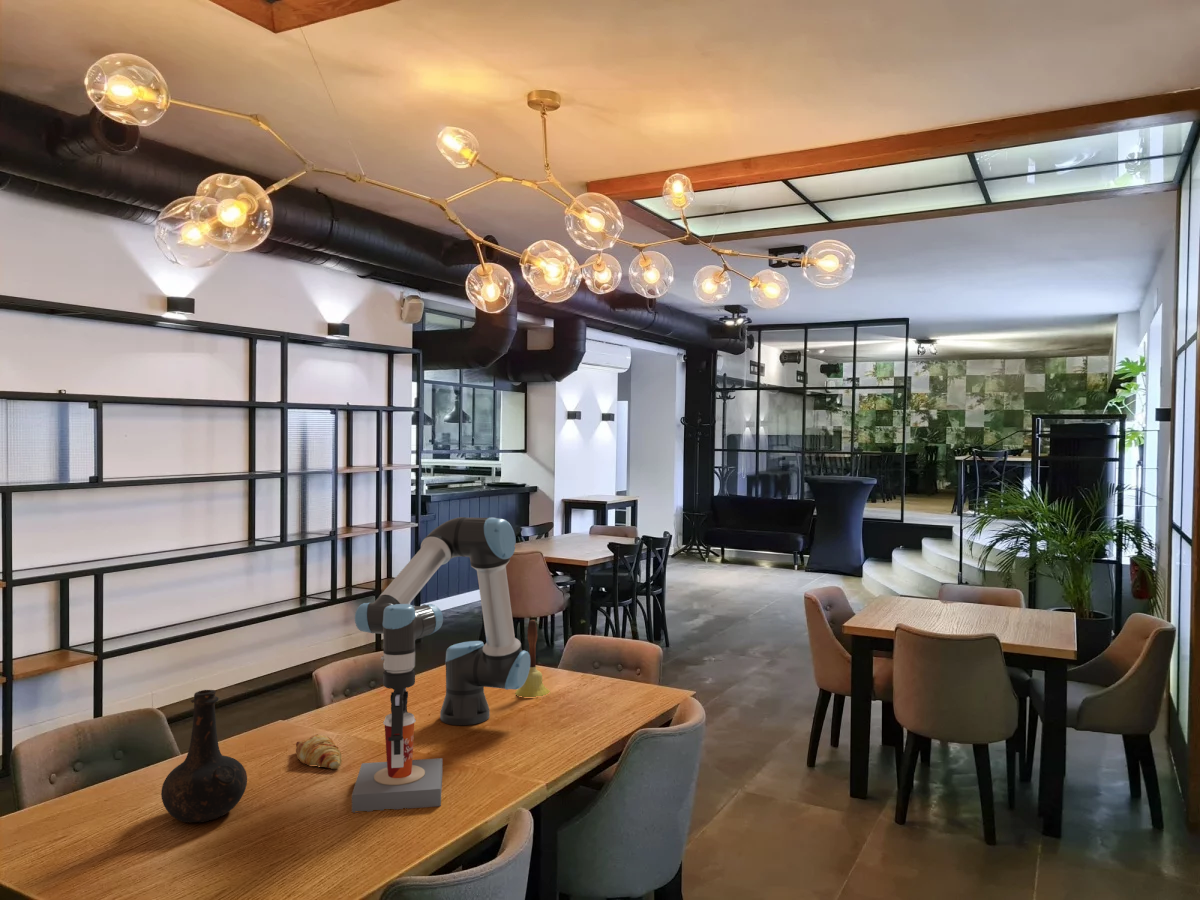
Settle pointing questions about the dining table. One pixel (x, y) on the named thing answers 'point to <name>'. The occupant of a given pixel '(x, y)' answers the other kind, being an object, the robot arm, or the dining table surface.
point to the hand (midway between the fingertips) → (399, 756)
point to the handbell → (532, 668)
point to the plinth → (398, 787)
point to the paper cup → (407, 745)
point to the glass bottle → (204, 771)
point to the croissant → (319, 752)
